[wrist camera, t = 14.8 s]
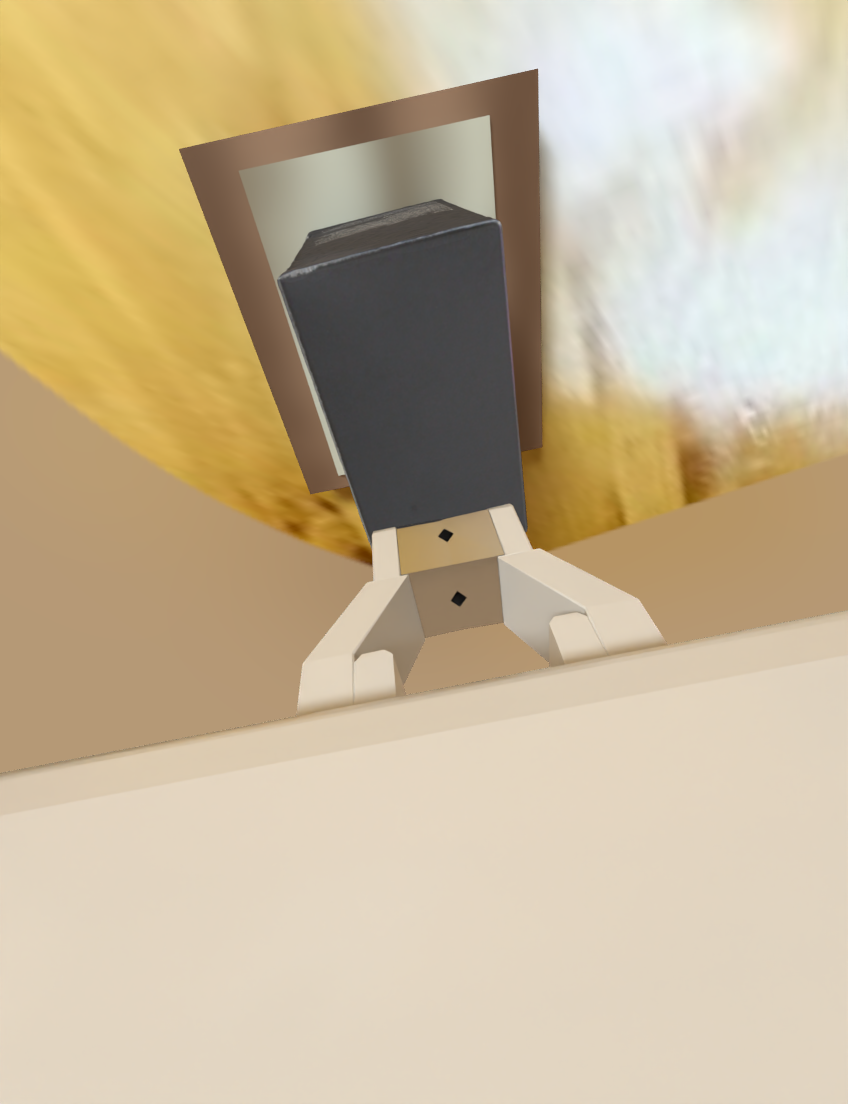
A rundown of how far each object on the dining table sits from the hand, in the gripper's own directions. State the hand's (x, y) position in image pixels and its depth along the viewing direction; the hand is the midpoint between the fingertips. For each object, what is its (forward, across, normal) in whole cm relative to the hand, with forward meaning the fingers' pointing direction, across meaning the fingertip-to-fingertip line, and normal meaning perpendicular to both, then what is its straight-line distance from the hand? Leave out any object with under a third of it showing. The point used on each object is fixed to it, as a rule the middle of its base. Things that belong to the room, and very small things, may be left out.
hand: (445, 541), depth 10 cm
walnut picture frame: (+20, 0, 0) cm, 20 cm away
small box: (+17, 0, 0) cm, 17 cm away
